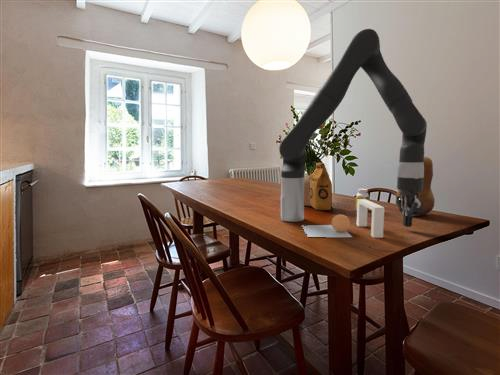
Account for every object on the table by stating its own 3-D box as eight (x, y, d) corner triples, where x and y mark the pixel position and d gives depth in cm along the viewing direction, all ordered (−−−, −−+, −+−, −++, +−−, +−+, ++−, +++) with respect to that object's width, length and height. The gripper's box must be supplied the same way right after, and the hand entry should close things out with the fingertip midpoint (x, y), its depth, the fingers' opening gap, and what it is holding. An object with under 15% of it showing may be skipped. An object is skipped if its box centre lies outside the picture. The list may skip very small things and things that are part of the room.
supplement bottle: (367, 211, 123) (368, 190, 122) (354, 210, 126) (355, 189, 125) (369, 209, 128) (370, 188, 127) (356, 208, 131) (357, 188, 129)
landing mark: (308, 237, 88) (308, 237, 88) (301, 225, 102) (301, 225, 102) (352, 237, 88) (352, 236, 88) (339, 225, 102) (339, 225, 102)
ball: (356, 229, 91) (339, 237, 91) (349, 223, 97) (334, 231, 97) (348, 213, 90) (331, 222, 90) (341, 209, 96) (326, 217, 96)
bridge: (373, 237, 87) (374, 207, 86) (356, 225, 102) (357, 199, 101) (383, 237, 87) (384, 207, 86) (364, 224, 102) (365, 199, 101)
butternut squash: (430, 212, 120) (434, 154, 116) (436, 219, 108) (440, 155, 104) (394, 210, 125) (397, 155, 122) (396, 216, 113) (399, 155, 110)
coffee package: (312, 210, 127) (313, 163, 124) (306, 205, 140) (307, 162, 137) (334, 210, 127) (335, 162, 124) (326, 205, 140) (327, 161, 137)
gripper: (389, 174, 98) (387, 221, 101) (409, 177, 85) (406, 232, 88) (410, 174, 98) (407, 221, 100) (434, 177, 85) (430, 231, 87)
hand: (407, 226), depth 94 cm, fingers closed
